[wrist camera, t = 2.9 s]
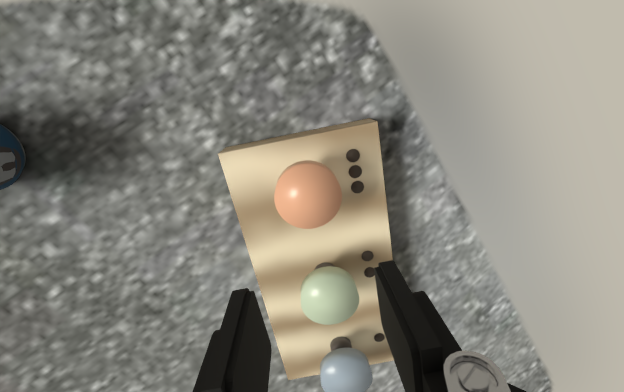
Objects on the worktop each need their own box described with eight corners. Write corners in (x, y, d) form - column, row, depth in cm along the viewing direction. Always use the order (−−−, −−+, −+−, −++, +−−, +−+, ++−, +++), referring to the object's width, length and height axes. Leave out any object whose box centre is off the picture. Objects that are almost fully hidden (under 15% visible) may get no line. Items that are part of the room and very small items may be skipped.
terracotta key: (343, 213, 25) (346, 221, 23) (283, 225, 25) (282, 234, 23) (333, 154, 23) (336, 159, 21) (268, 167, 23) (266, 172, 21)
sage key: (359, 306, 28) (362, 318, 27) (306, 316, 28) (307, 329, 27) (351, 261, 26) (355, 271, 25) (295, 272, 26) (295, 283, 25)
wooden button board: (395, 338, 37) (407, 368, 33) (289, 358, 38) (288, 390, 34) (369, 118, 28) (381, 123, 24) (226, 147, 28) (213, 157, 24)
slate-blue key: (371, 378, 32) (375, 393, 30) (324, 387, 32) (325, 402, 30) (365, 343, 30) (369, 356, 28) (315, 352, 30) (316, 366, 28)
